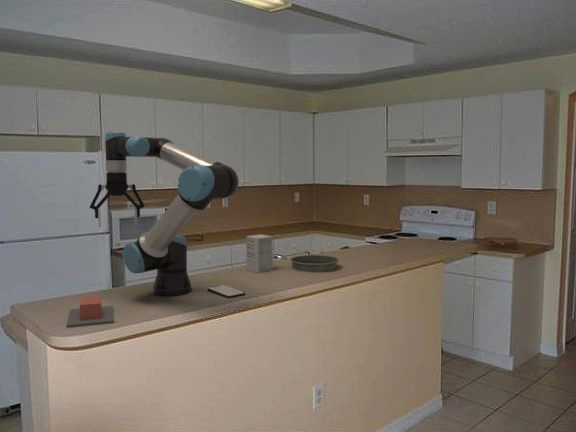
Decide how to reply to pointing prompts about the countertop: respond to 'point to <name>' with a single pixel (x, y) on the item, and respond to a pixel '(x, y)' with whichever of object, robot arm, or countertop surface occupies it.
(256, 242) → the supplement box
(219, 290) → the phone case
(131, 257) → the robot arm
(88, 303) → the card deck box
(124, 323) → the countertop surface
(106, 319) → the rubber mat
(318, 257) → the cake pan
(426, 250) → the countertop surface
